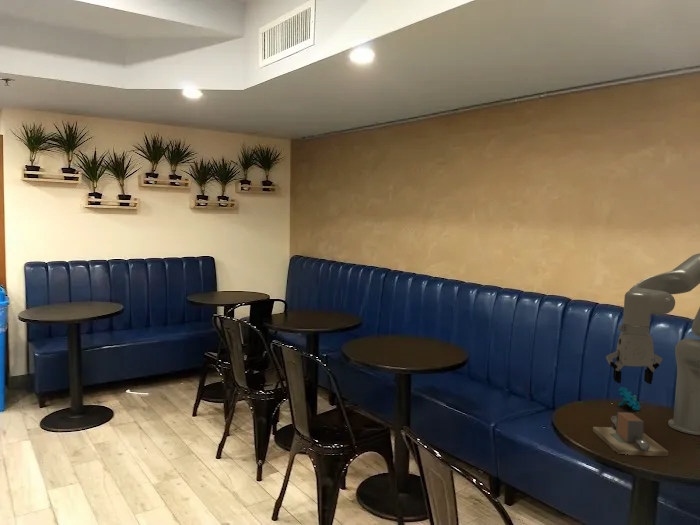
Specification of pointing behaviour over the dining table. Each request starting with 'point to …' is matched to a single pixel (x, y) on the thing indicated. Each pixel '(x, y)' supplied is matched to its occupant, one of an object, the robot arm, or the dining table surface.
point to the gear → (629, 399)
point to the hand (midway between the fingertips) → (632, 382)
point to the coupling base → (628, 448)
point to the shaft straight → (641, 443)
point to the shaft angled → (614, 419)
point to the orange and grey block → (629, 426)
